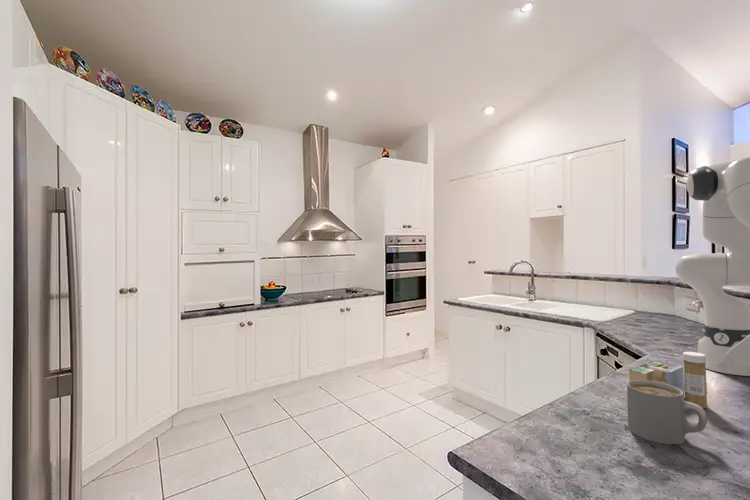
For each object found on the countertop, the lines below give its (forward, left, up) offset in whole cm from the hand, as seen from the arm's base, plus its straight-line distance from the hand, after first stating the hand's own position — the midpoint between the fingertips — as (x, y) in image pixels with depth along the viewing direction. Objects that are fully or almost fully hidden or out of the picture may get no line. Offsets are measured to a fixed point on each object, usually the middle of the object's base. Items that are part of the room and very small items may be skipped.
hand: (726, 364), depth 88 cm
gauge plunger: (0, -12, -12) cm, 17 cm away
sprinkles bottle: (0, -6, -12) cm, 14 cm away
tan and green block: (0, -16, -12) cm, 20 cm away
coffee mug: (+25, -4, -12) cm, 28 cm away
